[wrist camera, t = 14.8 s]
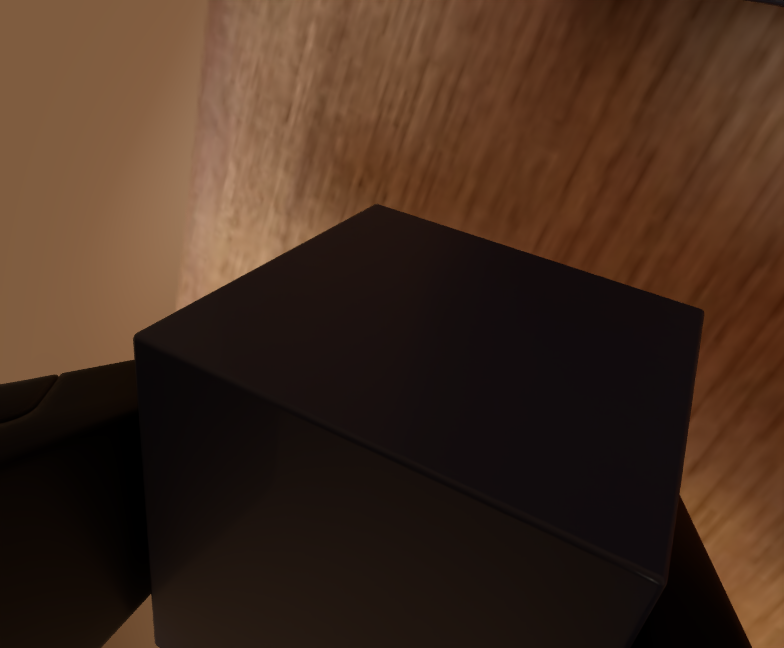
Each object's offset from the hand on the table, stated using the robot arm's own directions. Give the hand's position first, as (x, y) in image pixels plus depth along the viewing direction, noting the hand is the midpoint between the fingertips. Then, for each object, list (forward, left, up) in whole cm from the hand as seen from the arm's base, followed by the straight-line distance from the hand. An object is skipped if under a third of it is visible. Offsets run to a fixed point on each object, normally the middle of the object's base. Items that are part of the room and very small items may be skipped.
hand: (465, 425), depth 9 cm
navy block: (0, 0, -1) cm, 1 cm away
